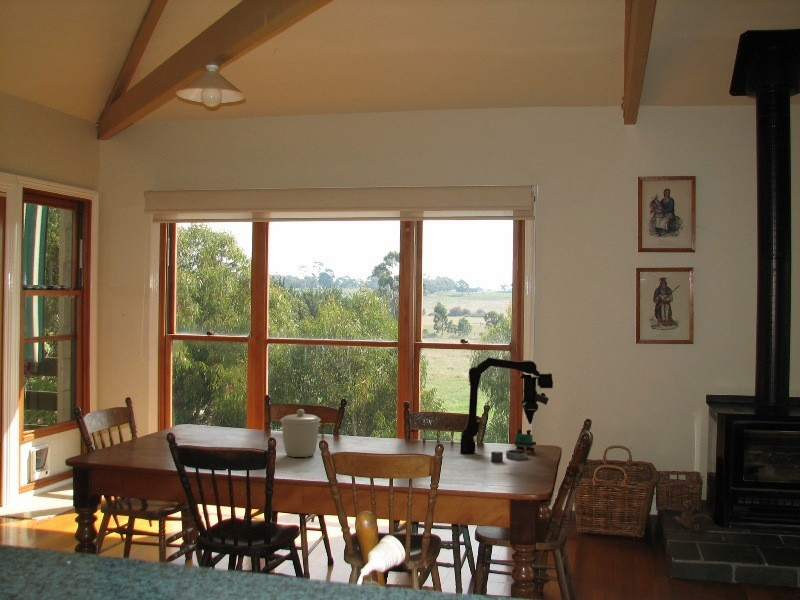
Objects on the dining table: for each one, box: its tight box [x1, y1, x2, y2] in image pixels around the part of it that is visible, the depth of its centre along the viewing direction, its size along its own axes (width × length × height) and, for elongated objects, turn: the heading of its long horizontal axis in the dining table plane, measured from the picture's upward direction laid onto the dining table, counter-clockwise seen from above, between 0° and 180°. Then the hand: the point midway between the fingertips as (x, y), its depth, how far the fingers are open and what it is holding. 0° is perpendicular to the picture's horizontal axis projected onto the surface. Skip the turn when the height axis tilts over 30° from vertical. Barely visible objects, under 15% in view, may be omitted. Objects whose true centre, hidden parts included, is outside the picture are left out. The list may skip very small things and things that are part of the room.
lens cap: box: [490, 451, 504, 464], centre depth 329 cm, size 5×5×4 cm
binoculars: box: [514, 428, 537, 454], centre depth 351 cm, size 9×11×10 cm
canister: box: [279, 408, 322, 458], centre depth 339 cm, size 18×18×21 cm
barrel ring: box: [505, 449, 528, 461], centre depth 337 cm, size 9×9×2 cm
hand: (529, 422), depth 344 cm, fingers open, 9 cm apart
